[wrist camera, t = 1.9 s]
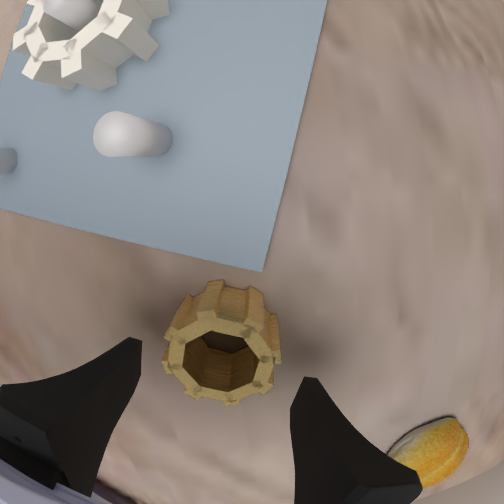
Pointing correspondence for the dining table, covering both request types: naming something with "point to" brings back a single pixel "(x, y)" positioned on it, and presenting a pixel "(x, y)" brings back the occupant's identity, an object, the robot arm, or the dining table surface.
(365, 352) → the dining table surface
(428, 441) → the bread roll
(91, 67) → the gear
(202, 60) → the gear board
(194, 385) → the brass gear
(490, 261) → the dining table surface
